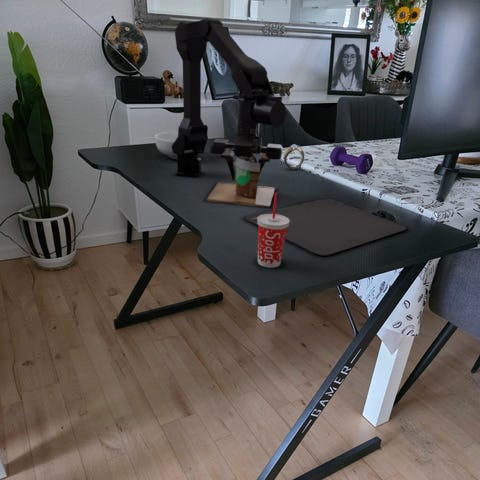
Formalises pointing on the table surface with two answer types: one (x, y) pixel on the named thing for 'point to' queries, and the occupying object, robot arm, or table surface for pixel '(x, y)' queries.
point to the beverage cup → (271, 237)
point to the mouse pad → (331, 226)
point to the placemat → (228, 195)
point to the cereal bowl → (166, 142)
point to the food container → (246, 176)
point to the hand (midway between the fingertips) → (244, 181)
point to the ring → (290, 152)
